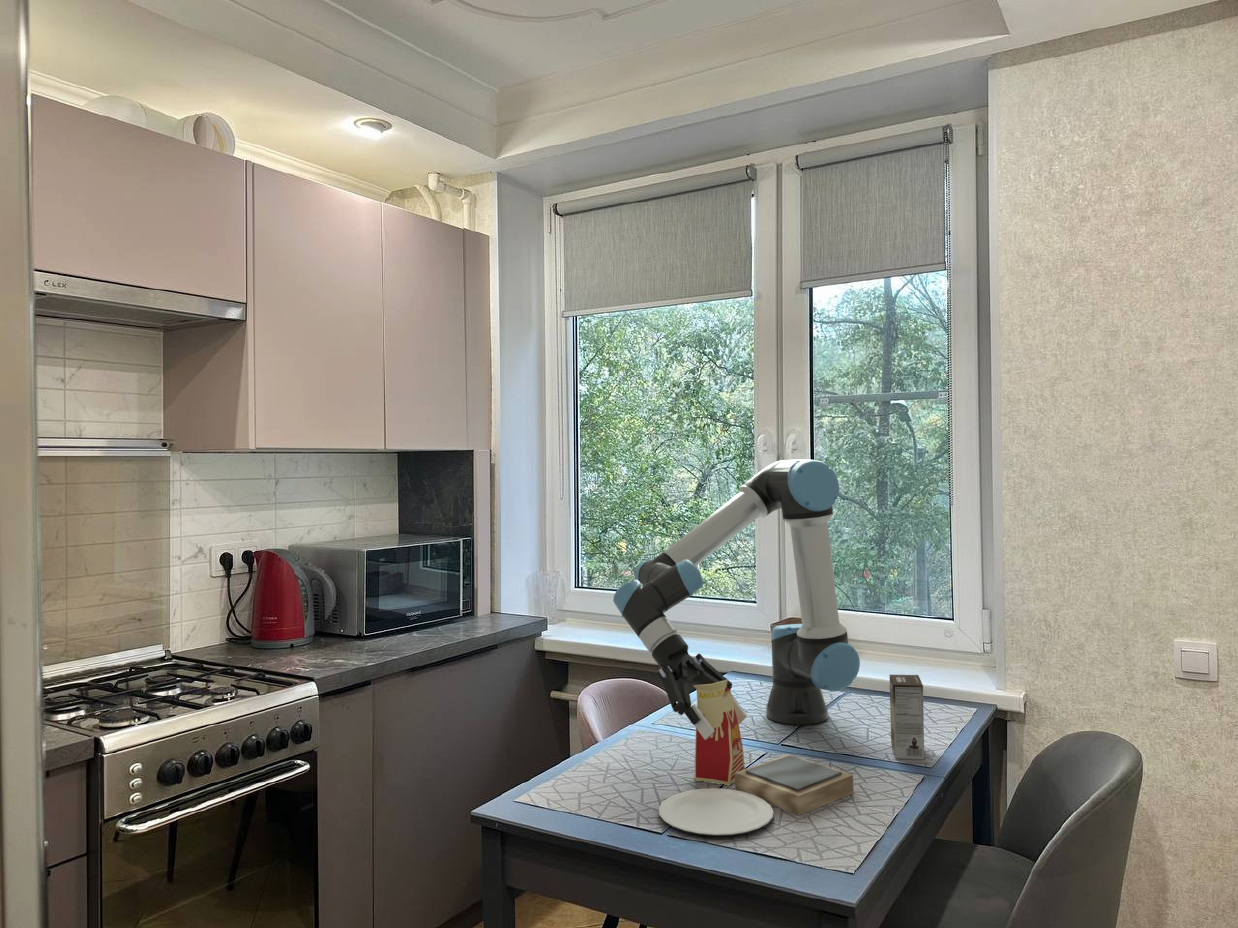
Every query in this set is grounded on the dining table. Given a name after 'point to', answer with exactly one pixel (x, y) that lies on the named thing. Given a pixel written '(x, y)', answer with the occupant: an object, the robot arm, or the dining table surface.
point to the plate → (716, 812)
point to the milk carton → (718, 736)
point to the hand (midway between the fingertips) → (726, 727)
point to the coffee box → (907, 716)
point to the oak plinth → (794, 783)
